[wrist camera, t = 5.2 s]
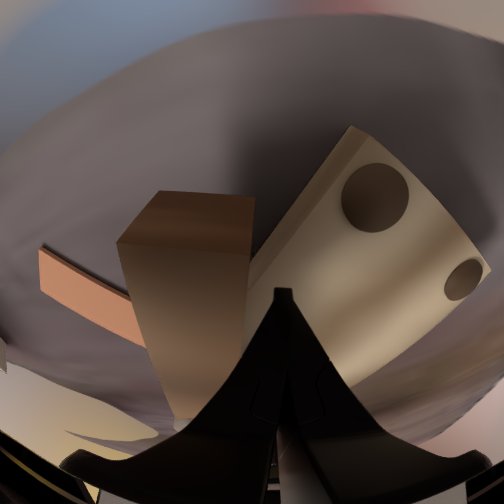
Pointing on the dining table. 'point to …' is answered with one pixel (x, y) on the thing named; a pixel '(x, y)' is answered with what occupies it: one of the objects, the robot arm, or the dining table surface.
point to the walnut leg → (190, 290)
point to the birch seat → (364, 259)
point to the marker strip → (88, 296)
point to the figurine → (3, 356)
